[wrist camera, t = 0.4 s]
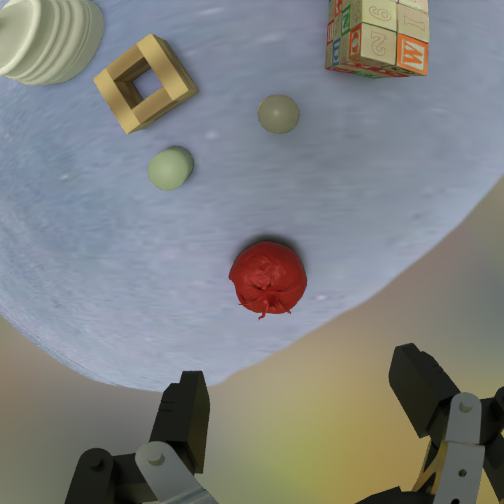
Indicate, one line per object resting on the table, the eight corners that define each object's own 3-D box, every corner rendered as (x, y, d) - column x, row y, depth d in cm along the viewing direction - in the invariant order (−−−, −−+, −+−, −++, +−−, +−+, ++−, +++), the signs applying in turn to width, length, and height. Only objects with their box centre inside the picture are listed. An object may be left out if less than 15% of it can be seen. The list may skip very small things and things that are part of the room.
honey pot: (106, -13, 19) (19, -50, 4) (103, 69, 26) (-2, 69, 10) (35, 20, 20) (-53, 16, 4) (34, 94, 26) (-62, 118, 11)
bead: (152, 158, 32) (140, 166, 29) (181, 139, 31) (171, 144, 28) (171, 186, 34) (161, 197, 31) (200, 169, 33) (193, 178, 30)
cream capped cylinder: (253, 104, 29) (250, 105, 19) (276, 92, 28) (287, 87, 18) (266, 126, 30) (270, 140, 20) (289, 114, 29) (306, 123, 19)
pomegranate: (264, 217, 36) (266, 253, 28) (317, 261, 39) (331, 303, 31) (217, 267, 40) (207, 311, 32) (270, 304, 43) (272, 349, 35)
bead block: (113, 80, 27) (92, 79, 22) (166, 40, 25) (151, 33, 20) (144, 128, 30) (126, 134, 26) (199, 91, 28) (188, 90, 24)
